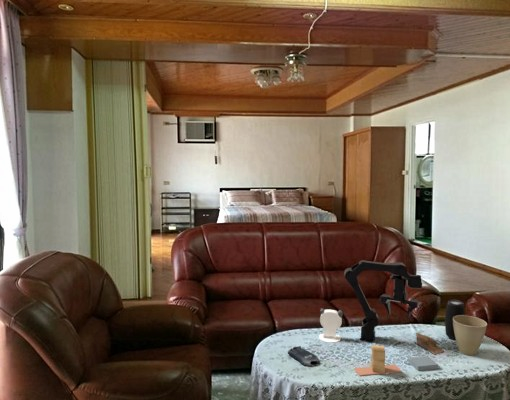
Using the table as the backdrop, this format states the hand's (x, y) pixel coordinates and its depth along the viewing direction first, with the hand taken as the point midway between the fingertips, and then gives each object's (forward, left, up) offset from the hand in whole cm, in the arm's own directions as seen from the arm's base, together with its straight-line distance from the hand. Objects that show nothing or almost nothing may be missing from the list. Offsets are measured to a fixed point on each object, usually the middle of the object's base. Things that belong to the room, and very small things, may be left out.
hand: (398, 317), depth 214 cm
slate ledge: (+16, -20, -13) cm, 29 cm away
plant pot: (+32, +6, -13) cm, 35 cm away
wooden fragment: (+13, +6, -14) cm, 20 cm away
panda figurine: (-31, -15, -13) cm, 37 cm away
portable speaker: (+24, +21, -13) cm, 35 cm away
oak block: (0, -36, -12) cm, 38 cm away
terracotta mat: (0, -36, -13) cm, 38 cm away
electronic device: (-32, -44, -14) cm, 56 cm away
